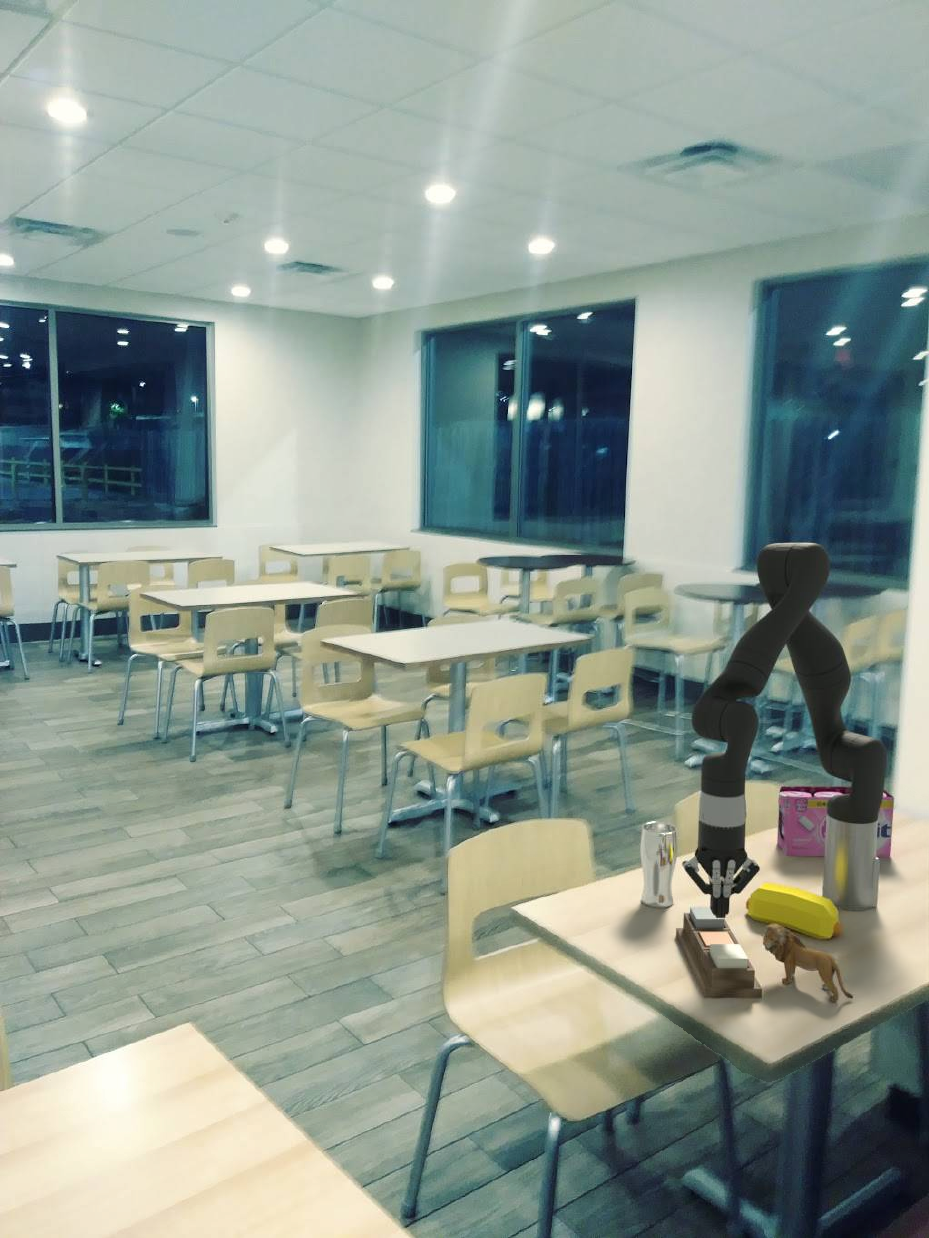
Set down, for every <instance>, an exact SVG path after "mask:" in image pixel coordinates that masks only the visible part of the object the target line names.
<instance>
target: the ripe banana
mask: <svg viewBox="0 0 929 1238" xmlns="http://www.w3.org/2000/svg"><path fill="white" fill-rule="evenodd" d="M745 908H746V909H747V912H746V913H747V915H748V916H749V917H750V918H752V919H753V920H755V921H757V922H761V923H765V924H767V925H771V924H778V925H780V926H781V925H782V926H783V927H785V928H786V929H789V930H792V931H796V932H798V933H801V934H803V935H806V936H809V937H812V938H815V939H819V940H827V939H831V938H832V937H835V936H836V937H837V936H840V935H841V933H842V932H843V930H844V929H843V925H842V923H841V922H839V920H840V919H839V910H838V907H835V905H834V904H833V903H832V901H831V900H830V899H827V898H824V897H822V895H818V894H815V893H813V892H809V891H807V890H804V889H801V888H798V887H793V886H789V885H788V886H787V885H782V884H776V883H772V882H768V881H767V882H764V883H763V884H761V885H760V886H758V887H757V888H756V889H755V890H754V891H753V892H751V893H750V896H749V898H748V899H746V902H745Z"/></svg>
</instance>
